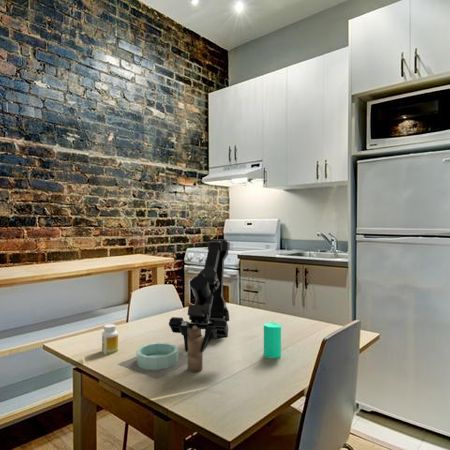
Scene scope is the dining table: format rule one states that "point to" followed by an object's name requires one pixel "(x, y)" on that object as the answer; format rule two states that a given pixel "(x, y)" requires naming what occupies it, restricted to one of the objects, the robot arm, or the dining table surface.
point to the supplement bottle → (109, 339)
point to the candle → (272, 340)
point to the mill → (194, 350)
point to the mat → (154, 373)
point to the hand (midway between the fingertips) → (193, 351)
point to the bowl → (157, 356)
